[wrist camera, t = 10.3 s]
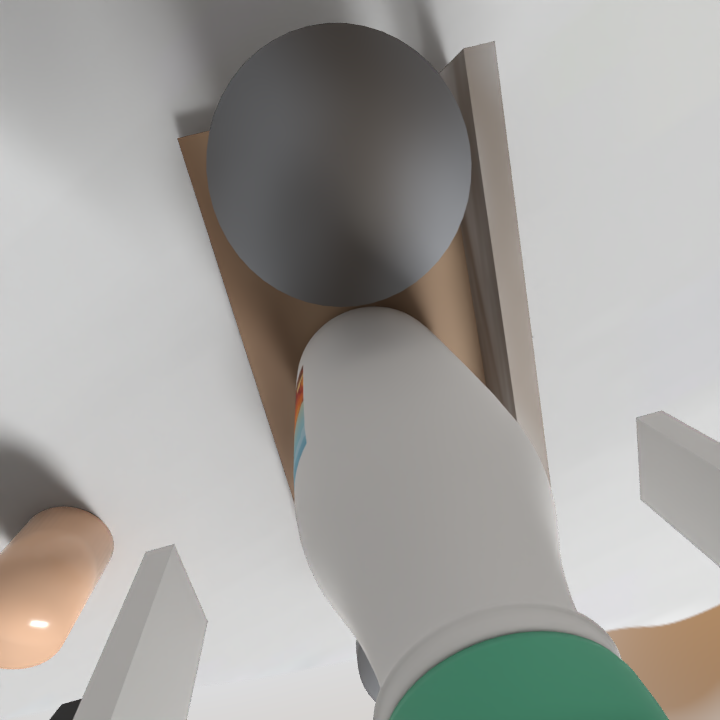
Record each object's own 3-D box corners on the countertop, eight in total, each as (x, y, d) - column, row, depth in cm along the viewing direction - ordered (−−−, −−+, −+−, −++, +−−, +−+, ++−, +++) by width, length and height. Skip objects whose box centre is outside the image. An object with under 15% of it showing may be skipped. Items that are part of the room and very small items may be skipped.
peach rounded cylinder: (44, 588, 29) (-20, 680, 24) (6, 519, 28) (-72, 600, 22) (126, 566, 29) (83, 653, 24) (93, 496, 28) (38, 571, 22)
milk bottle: (312, 289, 24) (344, 601, 5) (459, 319, 25) (923, 656, 6) (284, 431, 26) (234, 1027, 7) (422, 452, 27) (688, 1004, 8)
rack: (325, 583, 31) (333, 755, 21) (182, 133, 23) (89, 77, 13) (521, 531, 32) (618, 676, 22) (451, 69, 23) (556, -33, 13)
